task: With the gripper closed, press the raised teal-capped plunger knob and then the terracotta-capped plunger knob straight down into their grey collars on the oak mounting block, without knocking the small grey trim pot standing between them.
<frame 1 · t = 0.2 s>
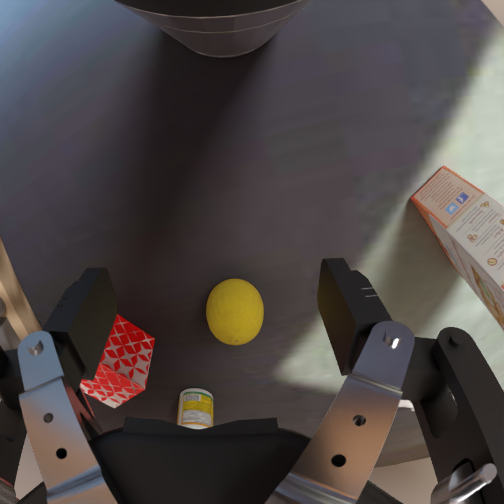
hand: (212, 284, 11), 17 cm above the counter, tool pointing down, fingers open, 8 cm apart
supplement bottle: (196, 394, 45), on the counter
red patterned cube box: (115, 335, 37), on the counter
lemon: (234, 284, 33), on the counter
cracker box: (448, 221, 31), on the counter
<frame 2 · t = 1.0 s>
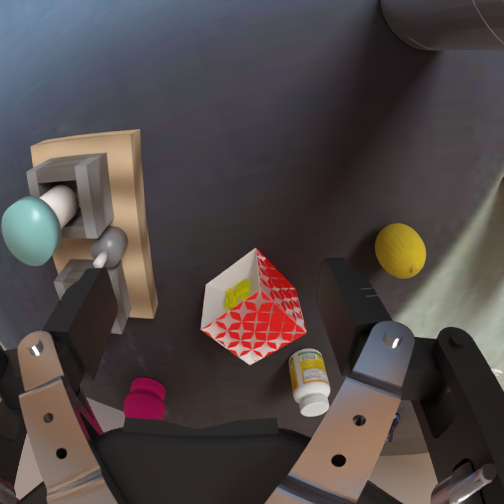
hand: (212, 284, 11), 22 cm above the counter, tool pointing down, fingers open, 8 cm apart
supplement bottle: (304, 357, 46), on the counter
snack package: (376, 421, 62), on the counter
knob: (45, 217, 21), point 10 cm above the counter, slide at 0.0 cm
red patterned cube box: (250, 285, 39), on the counter
trim pot: (114, 239, 31), point 3 cm above the counter, touching mount
lemon: (385, 232, 35), on the counter
pepper mill: (148, 386, 49), on the counter
mount: (100, 227, 33), on the counter
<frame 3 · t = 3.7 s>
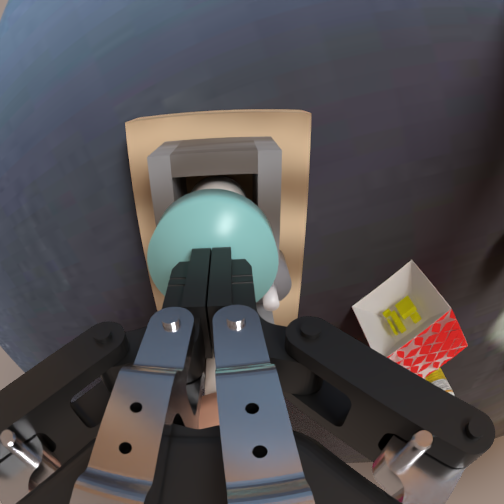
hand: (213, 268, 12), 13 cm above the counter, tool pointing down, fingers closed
supplement bottle: (420, 368, 39), on the counter
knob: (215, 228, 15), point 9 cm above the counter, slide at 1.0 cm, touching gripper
red patterned cube box: (395, 301, 31), on the counter
trim pot: (263, 262, 24), point 3 cm above the counter, touching mount
mount: (224, 245, 26), on the counter
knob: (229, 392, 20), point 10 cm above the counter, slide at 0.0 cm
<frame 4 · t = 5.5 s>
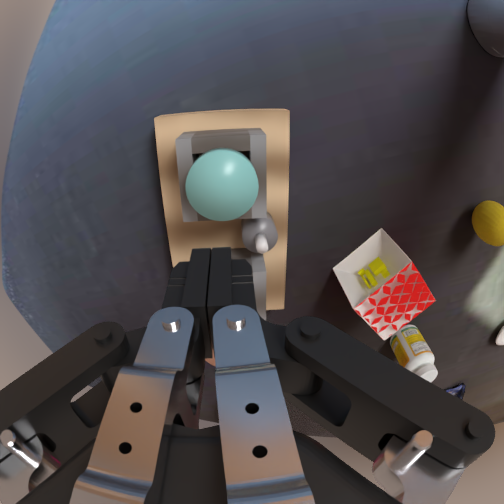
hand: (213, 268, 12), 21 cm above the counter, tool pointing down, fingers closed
supplement bottle: (402, 334, 45), on the counter
snack package: (445, 394, 60), on the counter
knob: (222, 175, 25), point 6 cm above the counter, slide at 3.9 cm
red patterned cube box: (371, 266, 38), on the counter
trim pot: (257, 223, 31), point 3 cm above the counter, touching mount
lemon: (474, 210, 35), on the counter
mount: (226, 213, 33), on the counter
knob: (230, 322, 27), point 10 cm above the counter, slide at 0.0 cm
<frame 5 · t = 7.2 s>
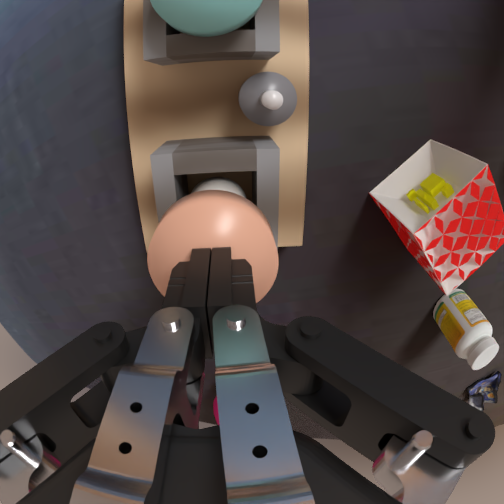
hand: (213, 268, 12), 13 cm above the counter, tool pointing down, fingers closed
supplement bottle: (447, 303, 33), on the counter
snack package: (478, 386, 48), on the counter
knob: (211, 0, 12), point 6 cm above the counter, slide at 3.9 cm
red patterned cube box: (418, 195, 26), on the counter
trim pot: (263, 97, 18), point 3 cm above the counter, touching mount
mount: (218, 97, 21), on the counter
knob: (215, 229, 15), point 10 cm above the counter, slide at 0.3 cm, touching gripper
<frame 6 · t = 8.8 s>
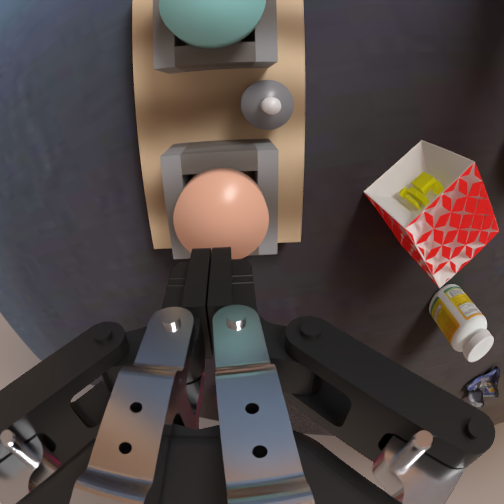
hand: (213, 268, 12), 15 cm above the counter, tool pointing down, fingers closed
supplement bottle: (443, 298, 35), on the counter
snack package: (477, 381, 49), on the counter
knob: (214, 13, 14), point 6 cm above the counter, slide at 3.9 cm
red patterned cube box: (410, 194, 27), on the counter
trim pot: (262, 103, 20), point 3 cm above the counter, touching mount
mount: (220, 103, 22), on the counter
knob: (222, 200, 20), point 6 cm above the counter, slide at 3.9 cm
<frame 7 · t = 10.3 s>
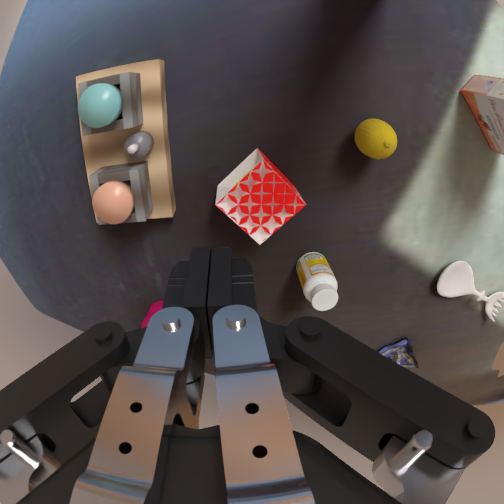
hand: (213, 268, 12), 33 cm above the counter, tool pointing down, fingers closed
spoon: (472, 287, 59), on the counter
supplement bottle: (310, 264, 52), on the counter
snack package: (393, 351, 66), on the counter
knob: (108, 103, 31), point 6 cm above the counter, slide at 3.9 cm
red patterned cube box: (255, 184, 45), on the counter
trim pot: (142, 142, 37), point 3 cm above the counter, touching mount
lemon: (363, 133, 41), on the counter
mount: (128, 141, 40), on the counter
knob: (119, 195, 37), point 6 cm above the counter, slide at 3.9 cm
cracker box: (482, 113, 39), on the counter
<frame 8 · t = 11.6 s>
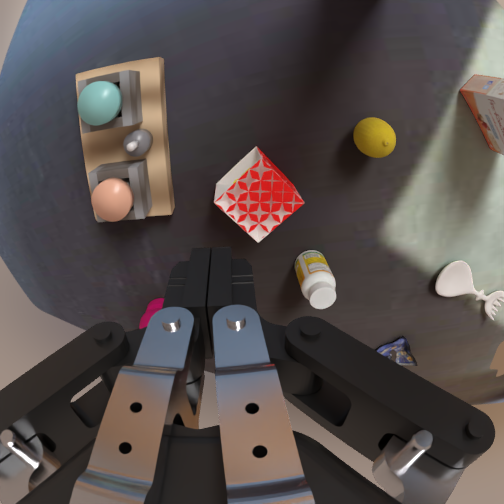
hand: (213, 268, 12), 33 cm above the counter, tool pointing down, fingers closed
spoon: (471, 286, 59), on the counter
supplement bottle: (309, 262, 52), on the counter
snack package: (391, 350, 67), on the counter
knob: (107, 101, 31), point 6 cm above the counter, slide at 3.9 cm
red patterned cube box: (254, 183, 45), on the counter
trim pot: (141, 140, 37), point 3 cm above the counter, touching mount
lemon: (362, 132, 41), on the counter
pepper mill: (163, 310, 55), on the counter
mount: (127, 139, 40), on the counter
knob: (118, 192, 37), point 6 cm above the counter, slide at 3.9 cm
cracker box: (482, 113, 39), on the counter
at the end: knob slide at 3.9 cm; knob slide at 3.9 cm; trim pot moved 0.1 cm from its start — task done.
